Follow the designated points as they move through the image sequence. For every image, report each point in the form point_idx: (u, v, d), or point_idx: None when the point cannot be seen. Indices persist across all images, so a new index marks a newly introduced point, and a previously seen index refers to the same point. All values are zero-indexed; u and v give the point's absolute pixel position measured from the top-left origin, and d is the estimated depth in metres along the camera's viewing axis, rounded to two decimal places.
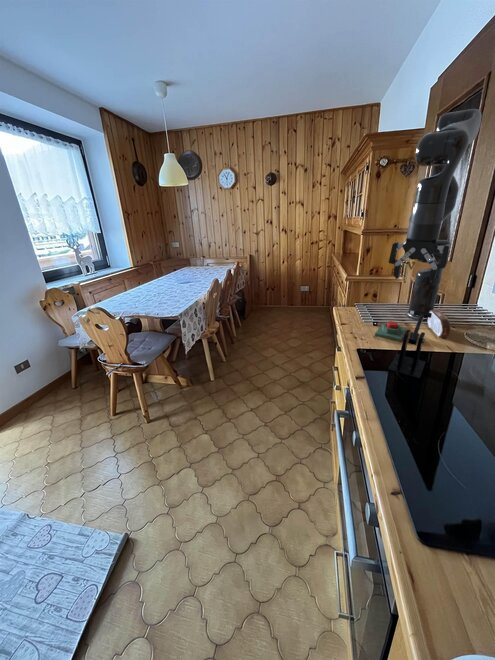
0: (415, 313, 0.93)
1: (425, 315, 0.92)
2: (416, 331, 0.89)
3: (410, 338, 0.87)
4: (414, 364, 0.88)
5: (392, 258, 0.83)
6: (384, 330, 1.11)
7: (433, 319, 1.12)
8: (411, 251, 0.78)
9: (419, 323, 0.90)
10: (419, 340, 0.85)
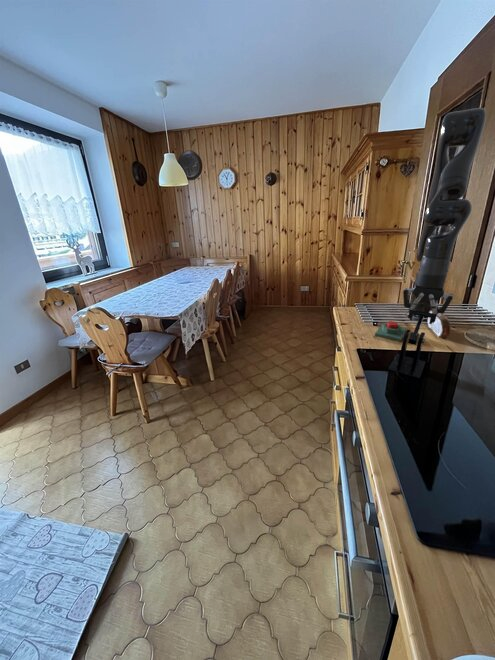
0: (415, 313, 0.93)
1: (425, 315, 0.92)
2: (416, 331, 0.89)
3: (410, 338, 0.87)
4: (414, 364, 0.88)
5: (406, 302, 0.93)
6: (384, 330, 1.11)
7: None
8: (420, 296, 0.89)
9: (419, 323, 0.90)
10: (419, 340, 0.85)
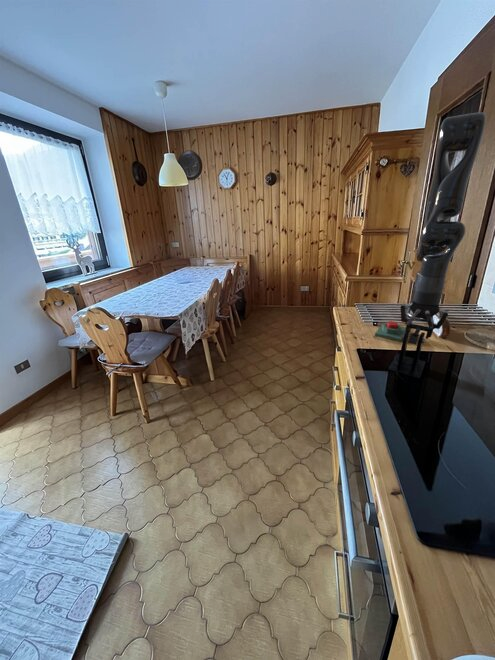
0: (412, 326, 0.96)
1: (422, 328, 0.95)
2: None
3: (411, 336, 0.87)
4: (414, 364, 0.88)
5: (403, 317, 0.96)
6: (384, 330, 1.11)
7: (433, 319, 1.12)
8: (417, 312, 0.92)
9: (417, 330, 0.92)
10: (419, 340, 0.85)
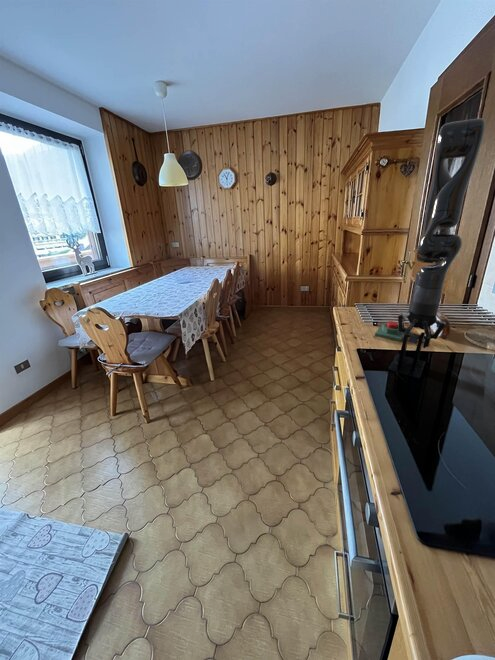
0: None
1: None
2: None
3: (411, 334, 0.87)
4: (414, 364, 0.88)
5: (401, 327, 0.97)
6: (384, 330, 1.11)
7: None
8: (414, 322, 0.93)
9: None
10: (419, 340, 0.85)
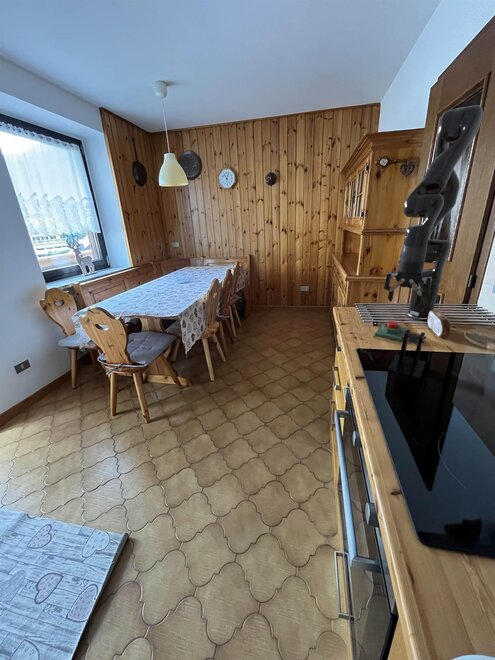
0: None
1: None
2: None
3: (411, 334, 0.87)
4: (414, 364, 0.88)
5: (386, 285, 1.03)
6: (384, 330, 1.11)
7: (433, 319, 1.12)
8: (401, 281, 0.99)
9: None
10: (419, 340, 0.85)
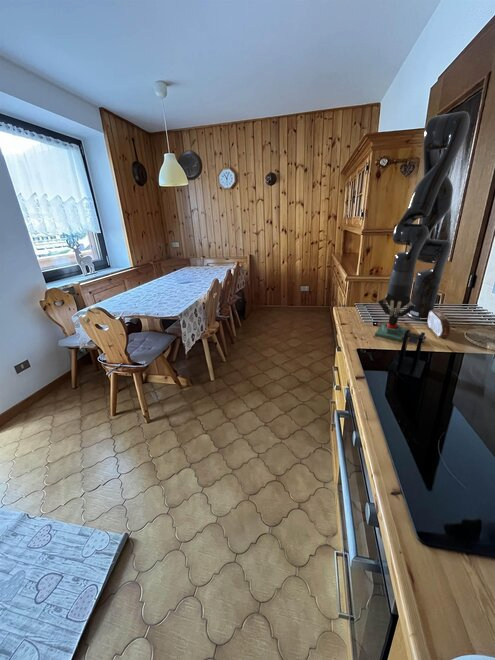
0: None
1: None
2: None
3: (411, 334, 0.87)
4: (414, 364, 0.88)
5: (385, 310, 1.09)
6: (384, 330, 1.11)
7: (433, 319, 1.12)
8: (392, 302, 1.06)
9: None
10: (419, 340, 0.85)
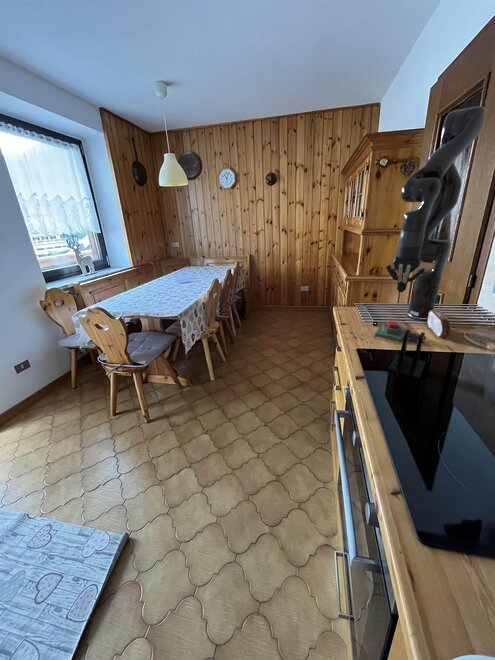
0: None
1: None
2: None
3: (411, 334, 0.87)
4: (414, 364, 0.88)
5: (394, 275, 1.03)
6: (384, 330, 1.11)
7: (433, 319, 1.12)
8: (400, 267, 1.00)
9: None
10: (419, 340, 0.85)
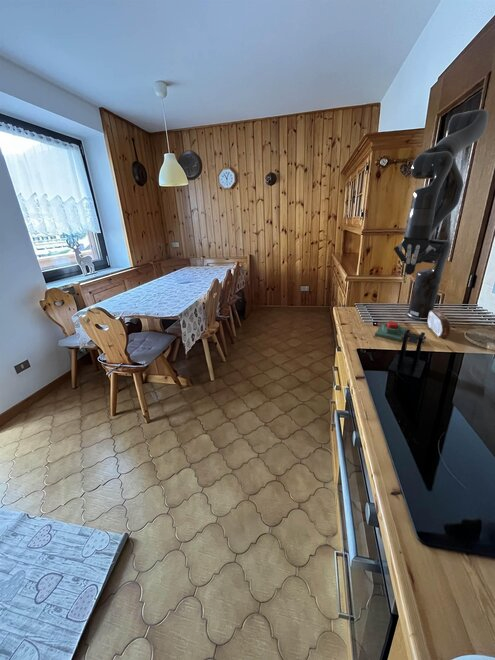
0: None
1: None
2: None
3: (411, 334, 0.87)
4: (414, 364, 0.88)
5: (402, 257, 0.99)
6: (384, 330, 1.11)
7: (433, 319, 1.12)
8: (409, 247, 0.96)
9: None
10: (419, 340, 0.85)
